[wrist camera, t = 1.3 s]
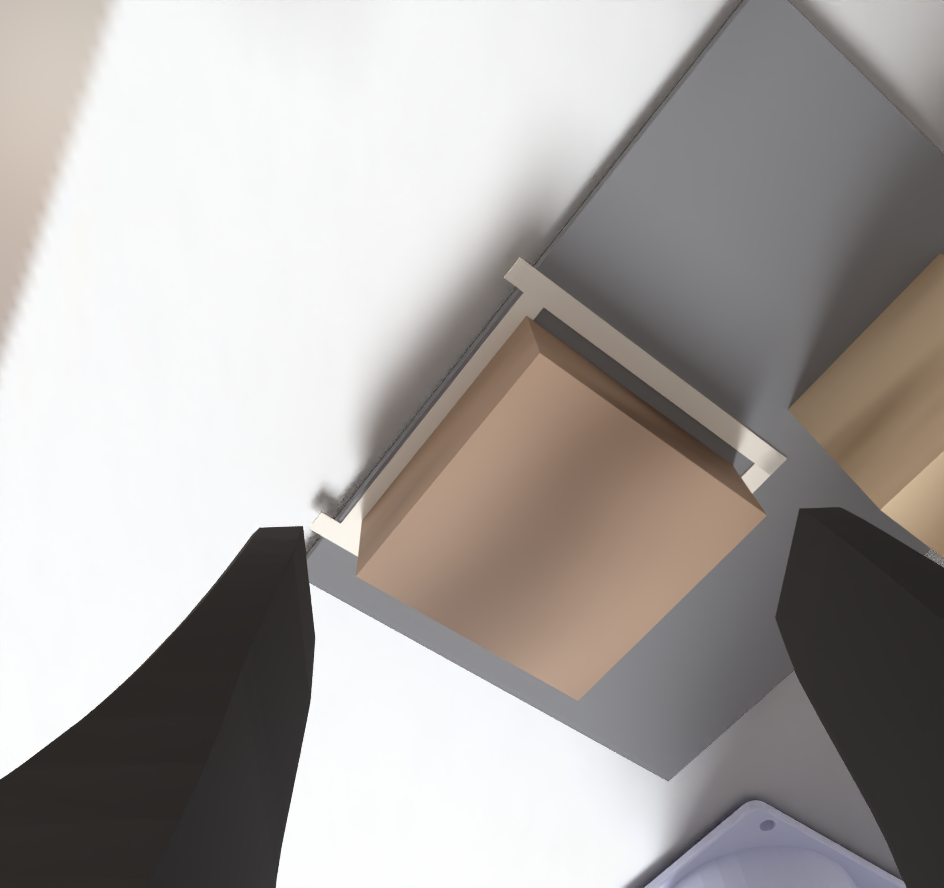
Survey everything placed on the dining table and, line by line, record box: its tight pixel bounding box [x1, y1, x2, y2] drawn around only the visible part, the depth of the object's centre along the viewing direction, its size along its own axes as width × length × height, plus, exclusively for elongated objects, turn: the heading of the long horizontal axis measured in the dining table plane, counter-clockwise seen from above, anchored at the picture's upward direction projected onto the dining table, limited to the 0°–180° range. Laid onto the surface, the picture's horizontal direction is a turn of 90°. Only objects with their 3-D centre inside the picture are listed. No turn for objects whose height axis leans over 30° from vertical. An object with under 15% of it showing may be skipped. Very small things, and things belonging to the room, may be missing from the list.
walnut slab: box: [356, 316, 767, 701], centre depth 22 cm, size 7×7×2 cm
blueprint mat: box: [306, 0, 944, 781], centre depth 23 cm, size 14×18×1 cm
